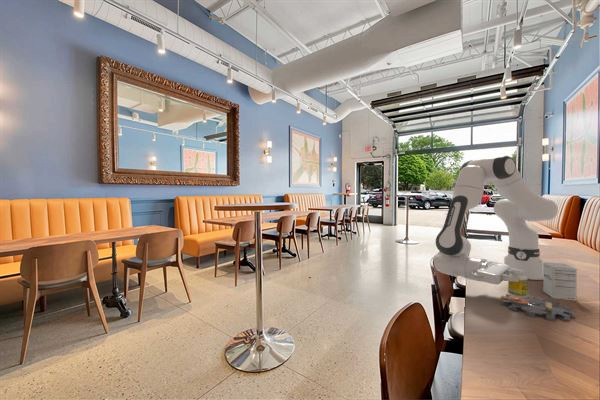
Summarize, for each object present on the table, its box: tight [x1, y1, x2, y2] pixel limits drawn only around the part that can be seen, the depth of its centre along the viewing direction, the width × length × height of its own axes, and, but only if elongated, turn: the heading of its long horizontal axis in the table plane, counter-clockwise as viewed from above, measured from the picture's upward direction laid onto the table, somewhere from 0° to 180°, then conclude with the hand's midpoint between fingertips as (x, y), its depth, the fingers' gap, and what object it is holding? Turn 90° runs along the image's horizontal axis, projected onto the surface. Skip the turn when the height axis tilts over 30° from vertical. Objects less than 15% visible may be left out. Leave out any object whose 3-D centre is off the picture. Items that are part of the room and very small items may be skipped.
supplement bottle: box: [507, 268, 528, 298], centre depth 94 cm, size 5×5×10 cm
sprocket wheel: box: [500, 293, 574, 322], centre depth 91 cm, size 19×19×4 cm
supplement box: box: [542, 261, 578, 302], centre depth 101 cm, size 7×7×13 cm
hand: (520, 277), depth 94 cm, fingers closed on supplement bottle, 5 cm apart
